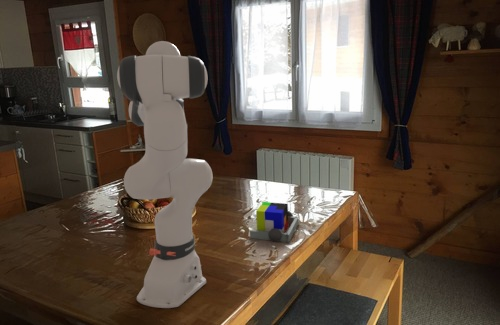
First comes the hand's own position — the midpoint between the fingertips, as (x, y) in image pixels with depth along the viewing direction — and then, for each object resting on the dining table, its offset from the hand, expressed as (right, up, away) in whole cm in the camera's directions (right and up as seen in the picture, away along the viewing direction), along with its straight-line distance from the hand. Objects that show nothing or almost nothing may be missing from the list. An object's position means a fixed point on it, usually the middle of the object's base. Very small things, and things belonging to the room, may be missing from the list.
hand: (172, 164), depth 159 cm
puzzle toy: (+38, -27, +9) cm, 47 cm away
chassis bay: (+38, -26, +9) cm, 47 cm away
